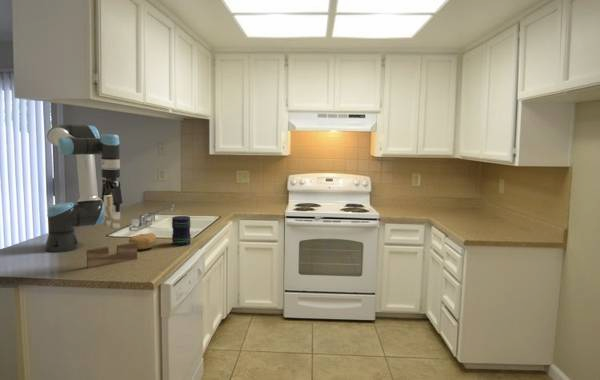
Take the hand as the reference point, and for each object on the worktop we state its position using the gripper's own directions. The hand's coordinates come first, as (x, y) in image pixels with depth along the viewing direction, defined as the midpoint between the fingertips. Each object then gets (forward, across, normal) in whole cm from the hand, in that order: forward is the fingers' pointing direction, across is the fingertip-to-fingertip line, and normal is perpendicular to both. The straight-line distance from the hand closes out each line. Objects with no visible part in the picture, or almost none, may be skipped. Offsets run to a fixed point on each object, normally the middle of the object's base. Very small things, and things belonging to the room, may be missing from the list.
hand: (112, 217), depth 187 cm
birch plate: (+4, 0, 0) cm, 4 cm away
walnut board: (+22, 0, 0) cm, 22 cm away
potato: (+22, -14, +21) cm, 33 cm away
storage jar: (+22, -11, +41) cm, 48 cm away
